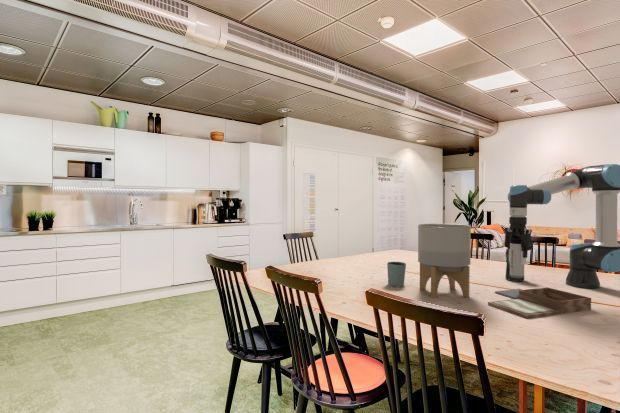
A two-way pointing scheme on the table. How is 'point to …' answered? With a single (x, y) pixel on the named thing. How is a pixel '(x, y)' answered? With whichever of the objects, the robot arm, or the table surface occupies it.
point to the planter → (444, 255)
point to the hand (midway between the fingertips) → (517, 262)
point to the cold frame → (543, 303)
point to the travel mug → (516, 258)
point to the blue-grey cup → (396, 273)
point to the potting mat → (510, 293)
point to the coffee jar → (509, 270)
